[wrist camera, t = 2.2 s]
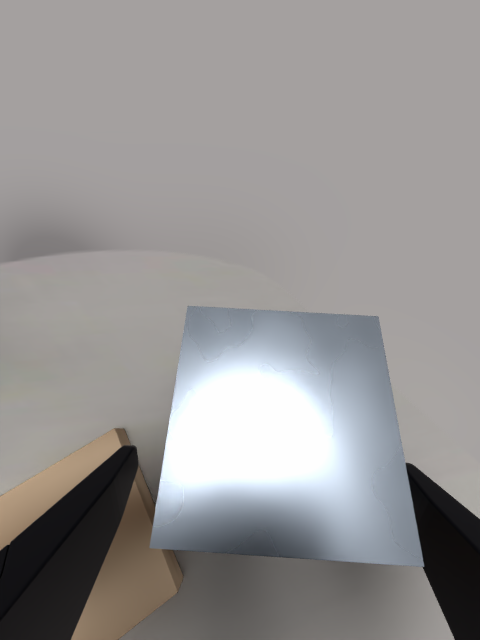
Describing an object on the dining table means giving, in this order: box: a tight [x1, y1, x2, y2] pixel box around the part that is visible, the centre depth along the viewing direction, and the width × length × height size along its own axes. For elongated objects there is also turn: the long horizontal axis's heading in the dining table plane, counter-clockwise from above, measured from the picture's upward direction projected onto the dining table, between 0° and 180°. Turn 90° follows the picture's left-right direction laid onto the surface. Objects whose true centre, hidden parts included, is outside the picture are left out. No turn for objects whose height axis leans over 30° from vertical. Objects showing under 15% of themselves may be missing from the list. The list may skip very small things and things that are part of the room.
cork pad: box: [0, 428, 183, 640], centre depth 14 cm, size 9×9×2 cm
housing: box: [149, 306, 424, 567], centre depth 12 cm, size 5×5×13 cm
